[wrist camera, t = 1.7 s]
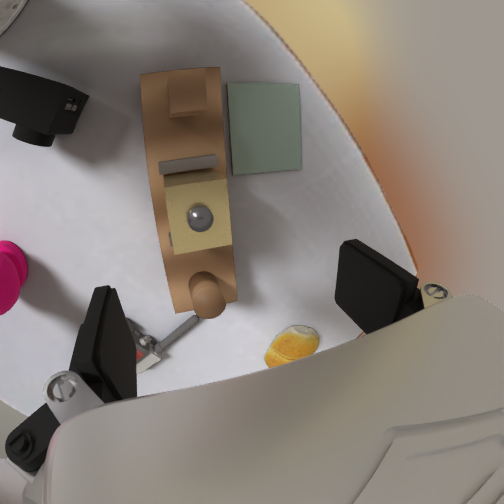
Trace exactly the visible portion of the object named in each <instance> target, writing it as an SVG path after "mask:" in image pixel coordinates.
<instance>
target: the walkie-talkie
mask: <svg viewBox="0 0 504 504" xmlns="http://www.w3.org/2000/svg"><path fill="white" fill-rule="evenodd" d="M126 320H127V323H128V326H129V328H130V331H131V333H132V336H133V339H134V341H135V344H136V350H137V355H136V373H143V372H144V371H145V370H147V369H148V368H149V367H151V366H152V365H153V364H154V363H156V362H159V361H160V360H161V359H162V357H161V352H163V351H164V350H165V348H166V347H167V346H169V345H170V344H171V343H172V342H174V341H175V340H176V339H177V338H179V337H180V336H181V335H182V334H184V333H185V332H186V331H187V330H189V329H190V328H191V327H192V326H194V325H195V324H196V323H197V322H198V321H199V317H198V316H197V315H193V316H192V317H190V318H189V319H188V320H187V321H186V322H184V323H183V324H182V325H181V326H179V327H178V328H177V329H176V330H175V331H173V332H172V333H171V334H170V335H168V336H167V337H166V338H165V339H164V340H162V341H161V342H158V343H157V344H156V345H153V344H151V343H150V341H151V337H150V336H149V335H147V336H144V335H142V334H141V333H140V332H138V331H137V330H135V329H134V326H133V324H132V322H131V321H130V320H129V319H127V318H126Z"/></svg>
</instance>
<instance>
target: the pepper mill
mask: <svg viewBox="0 0 504 504" xmlns="http://www.w3.org/2000/svg"><path fill="white" fill-rule="evenodd" d="M27 275H28V266H27V262H26V259H25V256H24V254H23V253H22V251H21V250H20V249H19V248H18V247H17V246H16V245H15V244H13V243H12V242H10V241H0V315H2V314H4V313H6V312H7V311H9V310H10V309H11V308H12V307H13V305H14V304H15V303H16V301H17V299H18V297H19V294H20V288H21V287H22V285H23V284H24V282H25V281H26V278H27Z"/></svg>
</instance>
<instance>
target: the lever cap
mask: <svg viewBox="0 0 504 504" xmlns="http://www.w3.org/2000/svg"><path fill="white" fill-rule="evenodd" d="M163 179H164V192H165V199H166V206H167V213H168V219H169V226H170V232H171V238H172V243H173V249H174V254H175V255H176V254H182V253H187V252H193V251H198V250H204V249H210V248H215V247H221V246H226V245H232V233H231V221H230V209H229V197H228V184H227V178H225V177H224V176H222V175H221V174H219V173H218V172H216V171H215V170H213V169H205V170H198V171H190V172H184V173H177V174H171V175H165V176H163Z"/></svg>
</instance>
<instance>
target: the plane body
mask: <svg viewBox="0 0 504 504" xmlns="http://www.w3.org/2000/svg"><path fill="white" fill-rule="evenodd" d="M140 84H141V103H142V117H143V129H144V140H145V149H146V158H147V167H148V174H149V182H150V189H151V196H152V202H153V208H154V215H155V220H156V226H157V232H158V237H159V242H160V248H161V253H162V257H163V262H164V267H165V272H166V276H167V281H168V285H169V289H170V294H171V298H172V302H173V306H174V310H175V314H176V313H181V312H187V311H192V310H194V311H195V313H196V314H197V315H198V316H199V317H201V318H204V319H212V318H215V317H217V316H219V315H220V314H221V313H222V312H223V311H224V309H225V306H226V303H230V302H235V301H238V300H237V289H236V279H235V268H234V257H233V246H232V245H226V246H221V247H215V248H210V249H204V250H198V251H193V252H187V253H182V254H176V255H175V254H174V249H173V243H172V238H171V232H170V226H169V219H168V213H167V206H166V199H165V192H164V179H163V176H165V175H171V174H177V173H184V172H190V171H198V170H205V169H213V170H215V171H216V172H218V173H219V174H221V175H222V176H224V177H225V178H227V172H226V158H225V144H224V129H223V113H222V97H221V79H220V67H206V68H191V69H180V70H171V71H162V72H155V73H148V74H142V75H140Z"/></svg>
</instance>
